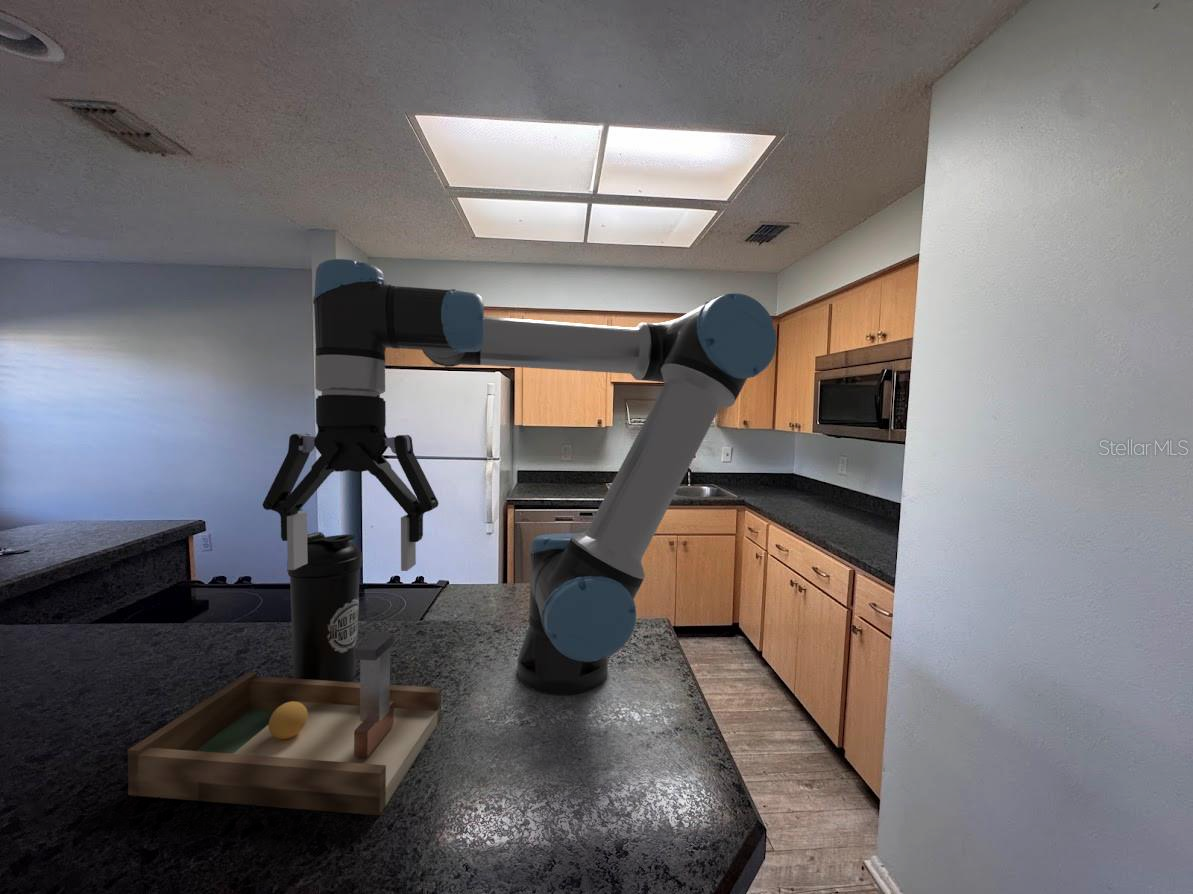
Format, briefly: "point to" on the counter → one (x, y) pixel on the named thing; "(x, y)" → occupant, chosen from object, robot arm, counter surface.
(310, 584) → the water bottle
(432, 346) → the robot arm
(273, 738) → the lane
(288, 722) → the ball
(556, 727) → the counter surface
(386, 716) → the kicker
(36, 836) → the counter surface
